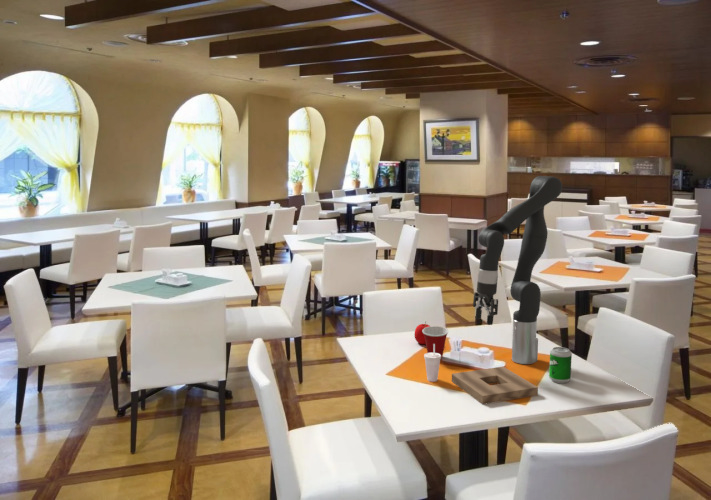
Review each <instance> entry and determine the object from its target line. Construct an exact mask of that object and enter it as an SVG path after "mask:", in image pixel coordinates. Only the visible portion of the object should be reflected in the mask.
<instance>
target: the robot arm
mask: <svg viewBox="0 0 711 500" xmlns="http://www.w3.org/2000/svg"><path fill="white" fill-rule="evenodd" d="M562 191H563V183H562V181H561V180H560V178H558V177H555V176H550V175H549V176H548V175H538V176H536V177H535V178H534V179H532V181H531V183H530V187H529V196H528V199H526V200H524V201H522V202H520V203H519V204H517V205H515V206H513V207H512V208H510V209H508V211H507V212H506V213H504V214H503V215H502V216H501V217H500V218H499V219H498V220H496V221H494V222H493V223H491V224H489V225H488V226H486V227H484V228H483V229H482V230H481V231H480V233H479V235H478V238H477V239H478V243H479V244H480V246H482V247H484V248H487V249H486V251H485V253H483V254H481V256H480V258H479V267H478V268H479V269H478V274H477V283H476V291H475V292H474V293H473V301H472V306H473V308H474V309H475V316H474V317H475V320H481V319H482V313H483V310H482V309H483V307H484V310H485V311H486V313H487V317H486V318H487V319H486V325H487V326H492V325H493V323H494V316H497V315H498V314H499V313H498V310H499V299H498V298H497V299H496V298H495V299H494V296H495V295H496V294H497V290H498V289H497V288H498V278H499V273H498V270H499V261H500V258H501V255H502V252H503V249H504V245H505V238H504V236H505V235H511V234H512V233H513V232H514V231H515V230H516V229H517V228H518V227H520V226H521V225H522V224H523V223H524V222H525V225H524V230H523V235H522V239H521V245H520V251H519V256H518V258H517V259H518V260H517V265H516V269H515V272H514V275H513V277H512V278H513V279H512V281H511V285H510V295H511V298H512V299H513V300H514V301H516V302H519V309H518V310H515V311H514V312H513V315H512V340H511V341H512V342H511V345H512V346H511V347H512V348H511V360H512V362H514V363H517V364H521V365H531V364H535V363H536V362H538V355H539V354H538V353H539V352H538V351H539V338H538V337H537V323H538V321H537V320H538V316H539V314H540V308H541V298H542V297H541V294H542V291H541V289H540V288H541V287H540V286H539V285H538V284H537V283H536V282H533V281H531V278H532V273H533V271H534V267H535V265H536V264H537V263H538V261H539V260H540V258H541V257H542V256H543V253H544V252H545V249H546V246H547V241H548V227H547V223H546V219H545V214H544V213H545V206H546V205H548V204H549V203H551V202H553V201H554V200H556V199H557V198H558V197H560V195H561V193H562Z"/></svg>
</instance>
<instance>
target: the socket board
mask: <svg viewBox="0 0 711 500" xmlns="http://www.w3.org/2000/svg"><path fill="white" fill-rule="evenodd" d="M451 382H452V383H453V384H455V385H456V386H457V387H458V388H460V389H461V390H462V391H464V392H465V393H466V394H467V395H469V396H471V397H472V398H473V399H475V400H476V401H478V403H480V404H481V405H487V404H494V403H499V402H505V401H511V400H512V401H513V400H518V399H524V398H529V397H536V396H538V395H539V386H537V385H535V384H533V382H531V381H528V380H527V379H525V378H523V376H520V375H519V374H517V373H515V372H513V371H512V370H510V369H508V368H507V367H505V366H498V367H496V366H495V367H490V368H482V369H476V370H468V371H462V372H455V373H454V372H453V373H451ZM486 403H487V404H486Z"/></svg>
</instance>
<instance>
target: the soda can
mask: <svg viewBox="0 0 711 500" xmlns="http://www.w3.org/2000/svg"><path fill="white" fill-rule="evenodd" d="M572 356H573V353H572V351H571V350H570V349H569V348H567V347H563V346H555V347H552V349H550V351H549V369H548V371H549V372H548V373H549V374H548V376H549V377H548V378H549V379H550V380H551V381H552V382H553V383H557V384H567V383H568V382H569V381H570V380H571V379H572V378H571V376H572V375H571V373H572Z"/></svg>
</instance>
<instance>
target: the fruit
mask: <svg viewBox="0 0 711 500" xmlns="http://www.w3.org/2000/svg"><path fill="white" fill-rule="evenodd" d="M430 326H431V325H429V324H427V321H425V323H421V324H418V325H417V326H416V328H415V329H414V330H415V331H414V339H415V341H416V342H417V343H418V344H420V345H422V346H423V345H425V346H426V342H425V337H424V334H423V332H422V330H423V329H424V328H426V327H430Z"/></svg>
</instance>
